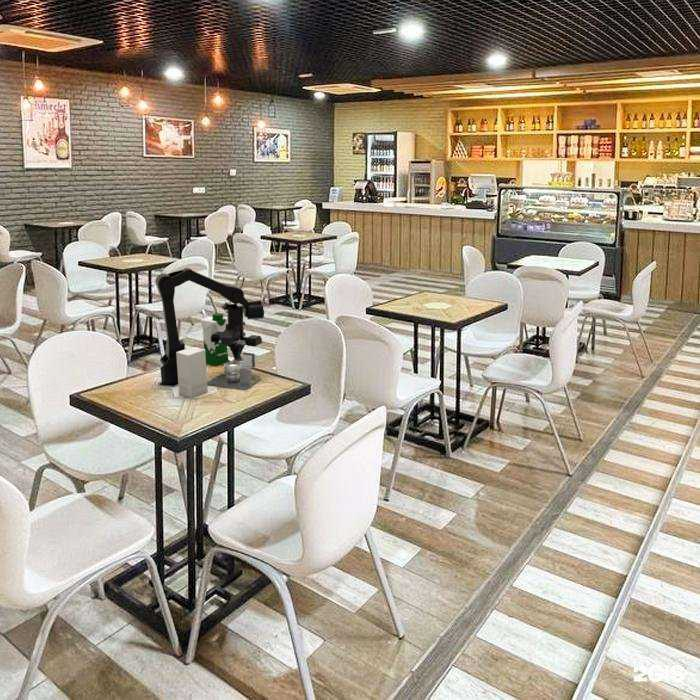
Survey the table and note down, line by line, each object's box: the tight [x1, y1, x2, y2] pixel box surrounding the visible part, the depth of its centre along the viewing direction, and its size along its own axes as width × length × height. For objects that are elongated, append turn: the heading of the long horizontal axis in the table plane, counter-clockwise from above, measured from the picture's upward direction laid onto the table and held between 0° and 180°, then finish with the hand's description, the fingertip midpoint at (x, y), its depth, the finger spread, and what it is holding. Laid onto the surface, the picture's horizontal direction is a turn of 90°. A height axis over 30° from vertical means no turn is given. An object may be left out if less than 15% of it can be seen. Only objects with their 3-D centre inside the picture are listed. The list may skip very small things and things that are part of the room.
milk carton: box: [200, 312, 230, 367], centre depth 286 cm, size 9×9×20 cm
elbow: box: [223, 352, 256, 374], centre depth 267 cm, size 16×6×5 cm, turn 160°
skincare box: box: [176, 346, 208, 399], centre depth 250 cm, size 8×7×16 cm
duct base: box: [207, 368, 261, 391], centre depth 263 cm, size 16×12×6 cm
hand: (236, 361), depth 271 cm, fingers closed
